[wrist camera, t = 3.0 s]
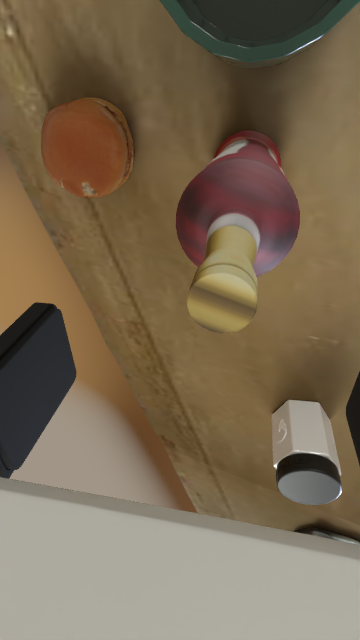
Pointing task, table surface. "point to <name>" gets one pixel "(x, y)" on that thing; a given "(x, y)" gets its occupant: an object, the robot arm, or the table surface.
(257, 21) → the ice bucket
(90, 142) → the burger
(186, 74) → the table surface
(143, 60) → the table surface
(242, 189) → the liquor
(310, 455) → the jar
